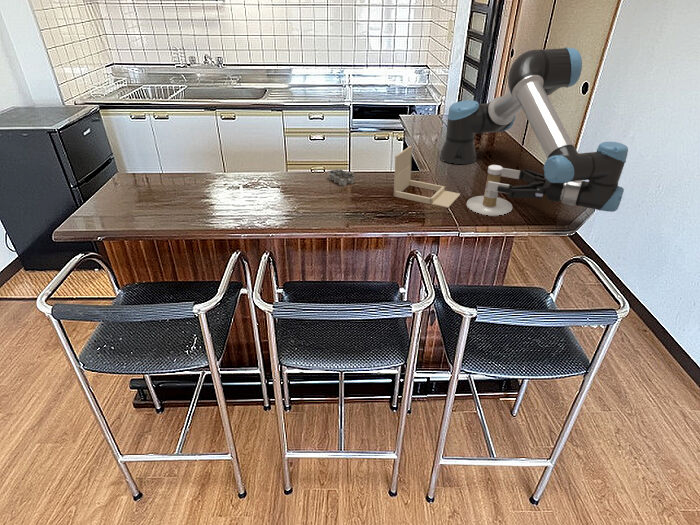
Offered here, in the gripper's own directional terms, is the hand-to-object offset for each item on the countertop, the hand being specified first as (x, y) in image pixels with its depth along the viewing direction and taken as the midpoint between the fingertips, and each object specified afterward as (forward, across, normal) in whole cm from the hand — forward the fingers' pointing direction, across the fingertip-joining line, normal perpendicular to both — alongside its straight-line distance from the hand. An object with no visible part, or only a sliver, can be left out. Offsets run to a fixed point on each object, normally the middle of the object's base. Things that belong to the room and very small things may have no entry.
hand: (493, 178), depth 143 cm
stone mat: (0, +1, -10) cm, 10 cm away
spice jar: (0, +1, -10) cm, 10 cm away
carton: (+22, -1, -10) cm, 24 cm away
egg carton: (+57, -4, -11) cm, 58 cm away
